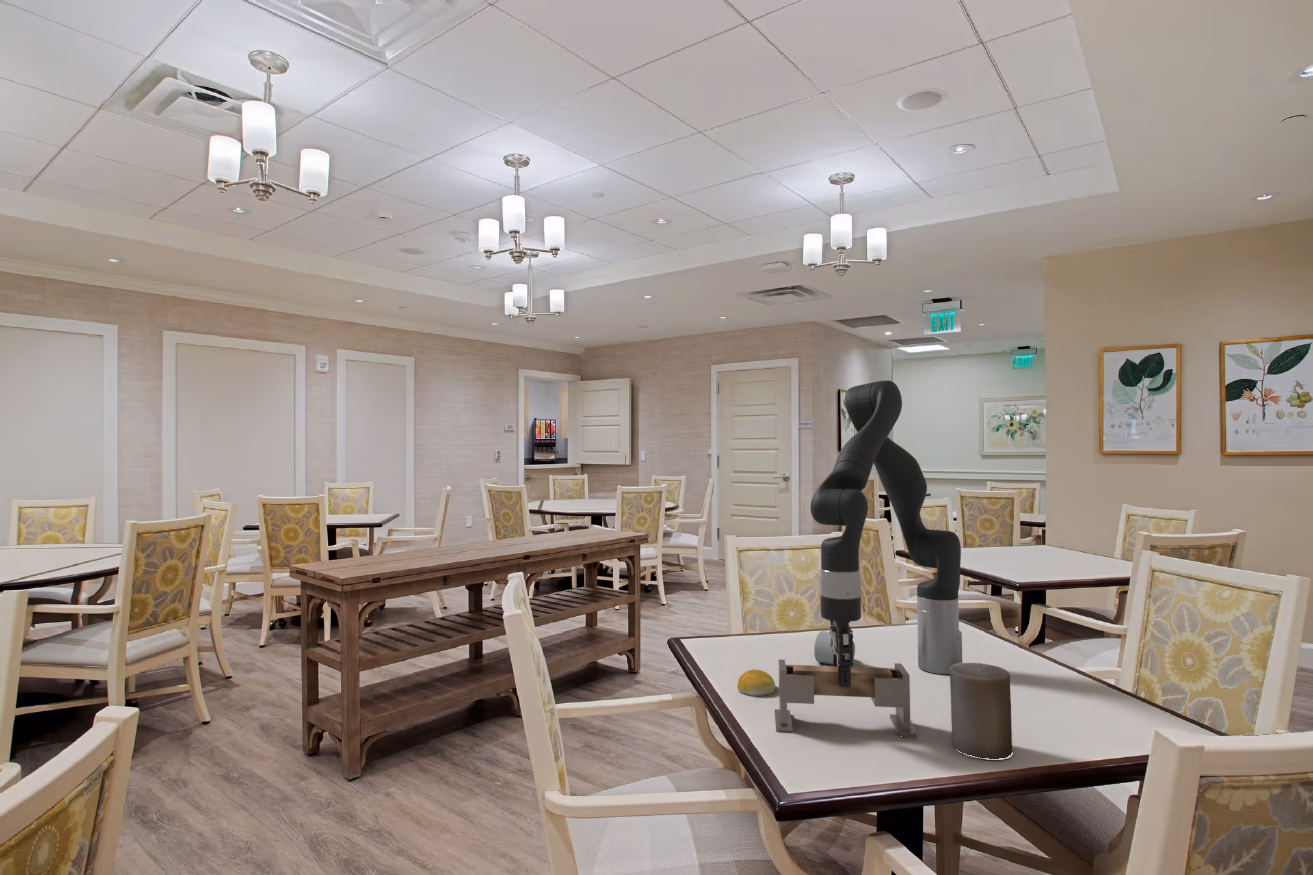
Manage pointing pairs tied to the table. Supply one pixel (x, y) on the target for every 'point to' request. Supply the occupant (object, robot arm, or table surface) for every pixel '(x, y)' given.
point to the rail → (829, 680)
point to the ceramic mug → (825, 648)
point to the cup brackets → (885, 695)
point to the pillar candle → (981, 710)
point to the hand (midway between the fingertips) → (841, 679)
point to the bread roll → (756, 683)
